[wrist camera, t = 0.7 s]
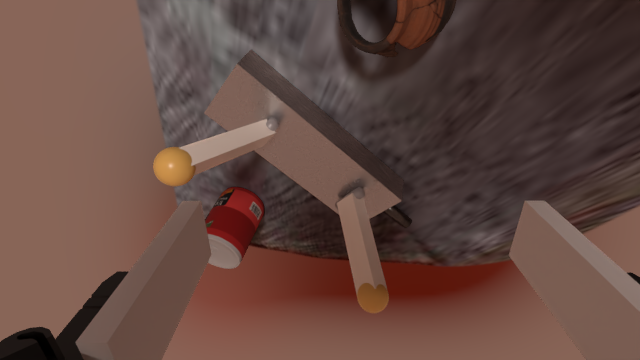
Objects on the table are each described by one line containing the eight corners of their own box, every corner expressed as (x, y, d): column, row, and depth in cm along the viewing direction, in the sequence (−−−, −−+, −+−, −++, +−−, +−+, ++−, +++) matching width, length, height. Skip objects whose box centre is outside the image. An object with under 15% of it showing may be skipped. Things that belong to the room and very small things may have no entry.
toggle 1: (269, 108, 40) (153, 143, 28) (287, 133, 40) (177, 178, 28) (251, 129, 43) (139, 168, 31) (267, 152, 43) (161, 200, 31)
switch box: (251, 49, 39) (237, 63, 37) (432, 204, 49) (432, 225, 46) (216, 99, 45) (202, 115, 43) (383, 229, 55) (381, 249, 52)
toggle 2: (349, 184, 43) (380, 309, 36) (369, 189, 45) (401, 307, 38) (328, 199, 46) (352, 317, 39) (347, 203, 48) (373, 315, 41)
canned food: (227, 178, 56) (194, 229, 48) (271, 200, 57) (246, 253, 49) (218, 203, 61) (187, 253, 53) (258, 223, 62) (233, 275, 54)
